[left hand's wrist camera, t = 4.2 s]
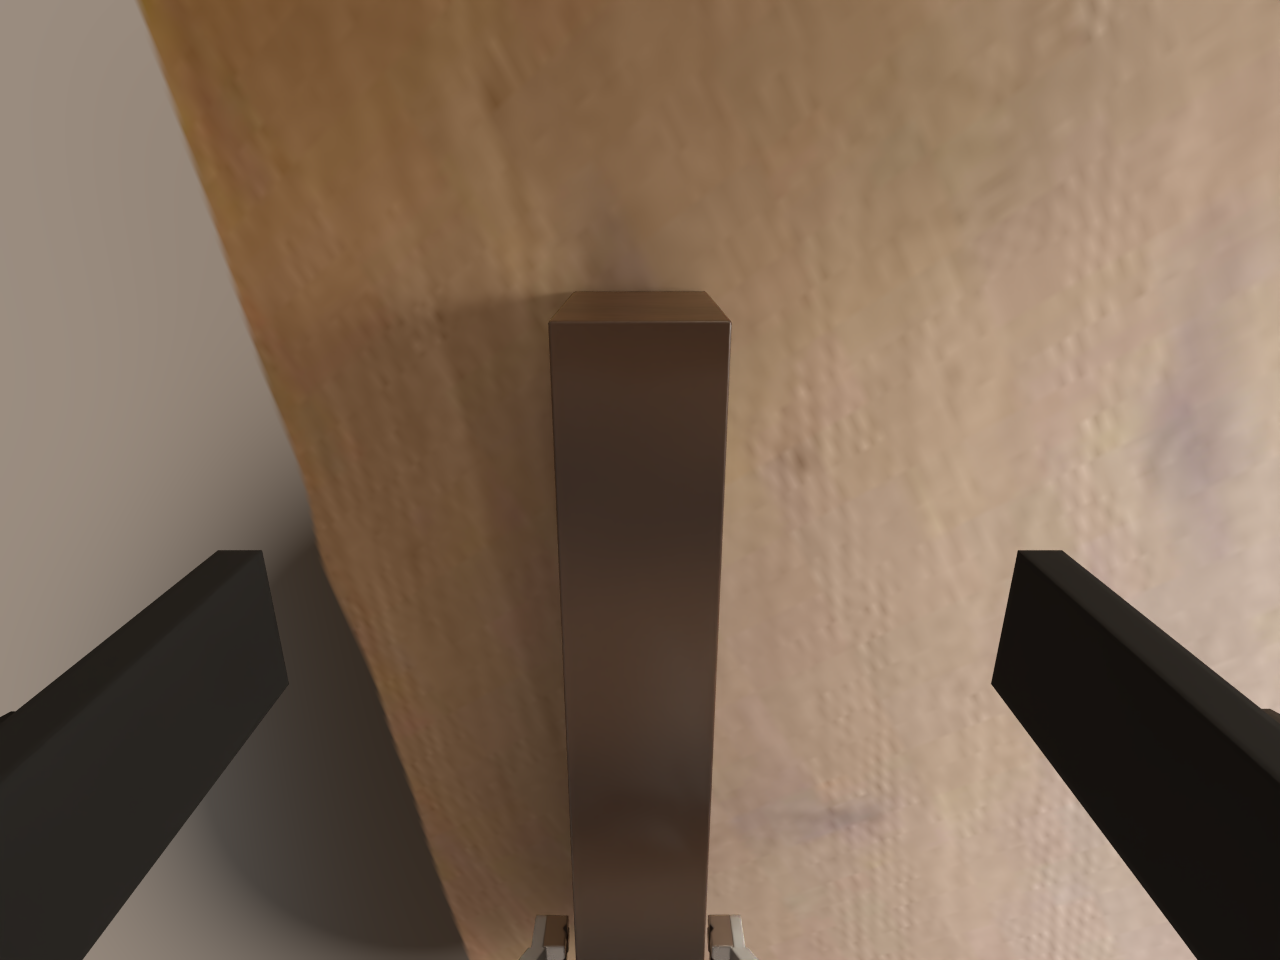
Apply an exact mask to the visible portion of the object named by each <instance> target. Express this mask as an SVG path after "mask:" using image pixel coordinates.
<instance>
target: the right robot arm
mask: <svg viewBox="0 0 1280 960" xmlns="http://www.w3.org/2000/svg"><path fill="white" fill-rule="evenodd" d="M568 924H569V917H568V916H562V915H537V916H536V919H535V926H534V932H533V939H532V946H531V948H528V949H527V950H526V951H525V953H524V954H523V955H522V956H521V957H520V959H519V960H567V952H568V950H569V927H568ZM707 934H708V951H709V952H710V956H709V960H758V959H757V958H756V956H755V955H754V954H753V953H752V951H751V950H750V949H749V948H748V947H745V942H744V935H743V928H742V921H741V916H740V915H708V933H707Z"/></svg>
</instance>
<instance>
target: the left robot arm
mask: <svg viewBox="0 0 1280 960" xmlns="http://www.w3.org/2000/svg"><path fill="white" fill-rule="evenodd" d="M288 684H289V682H288V677H287V672H286V667H285V662H284V658H283V652H282V647H281V642H280V638H279V633H278V628H277V622H276V617H275V612H274V608H273V603H272V598H271V593H270V588H269V583H268V578H267V573H266V568H265V563H264V558H263V553H262V551H261V550H218V551H217V552H215V553H214V554H213V555H212V556H210V557H209V558H208V559H207V560H205V561H204V562H203V563H202V564H200V565H199V566H198V567H197V568H195V569H194V570H193V571H191V572H190V573H189V574H188V575H187V576H185V577H184V578H183V579H181V580H180V581H179V582H178V583H176V584H175V585H174V586H173V587H171V588H170V589H169V590H168V591H166V592H165V593H164V594H163V595H161V596H160V597H159V598H158V599H156V600H155V601H154V602H153V603H151V604H150V605H149V606H147V607H146V608H145V609H144V610H142V611H141V612H140V613H139V614H137V615H136V616H135V617H134V618H132V619H131V620H130V621H129V622H127V623H126V624H125V625H124V626H122V627H121V628H120V629H119V630H117V631H116V632H115V633H114V634H112V635H111V636H110V637H109V638H107V639H106V640H105V641H104V642H102V643H101V644H100V645H99V646H97V647H96V648H95V649H93V650H92V651H91V652H90V653H88V654H87V655H86V656H85V657H83V658H82V659H81V660H80V661H78V662H77V663H76V664H75V665H73V666H72V667H71V668H70V669H68V670H67V671H66V672H65V673H63V674H62V675H61V676H60V677H58V678H57V679H56V680H55V681H53V682H52V683H51V684H50V685H48V686H47V687H46V688H45V689H43V690H42V691H41V692H39V693H38V694H37V695H36V696H34V697H33V698H32V699H31V700H29V701H28V702H27V703H26V704H24V705H23V706H22V707H21V708H19V709H18V710H17V711H15V712H14V711H13V712H12V711H11V712H9V713H7V714H5V715H3V716H2V717H0V960H83V958H84V957H85V956H86V954H87V953H88V952H89V950H90V949H91V948H92V946H93V945H94V944H95V942H96V941H97V940H98V938H99V937H100V936H101V934H102V933H103V932H104V930H105V929H106V928H107V926H108V925H109V924H110V922H111V921H112V920H113V918H114V917H115V915H116V914H117V913H118V912H119V910H120V909H121V907H122V906H123V905H124V904H125V902H126V901H127V900H128V898H129V897H130V895H131V894H132V893H133V891H134V890H135V889H136V887H137V886H138V885H139V883H140V882H141V881H142V879H143V878H144V877H145V875H146V874H147V873H148V871H149V870H150V869H151V867H152V866H153V865H154V863H155V862H156V861H157V859H158V858H159V857H160V855H161V854H162V853H163V851H164V850H165V849H166V847H167V846H168V845H169V843H170V842H171V841H172V839H173V838H174V837H175V835H176V834H177V833H178V831H179V830H180V829H181V827H182V826H183V824H184V823H185V822H186V821H187V819H188V818H189V817H190V815H191V814H192V813H193V811H194V810H195V809H196V807H197V806H198V805H199V803H200V802H201V801H202V799H203V798H204V797H205V795H206V794H207V793H208V791H209V790H210V789H211V787H212V786H213V785H214V783H215V782H216V781H217V779H218V778H219V777H220V775H221V774H222V773H223V771H224V770H225V769H226V767H227V766H228V764H229V763H230V762H231V760H232V759H233V758H234V756H235V755H236V754H237V752H238V751H239V750H240V748H241V747H242V746H243V744H244V743H245V742H246V740H247V739H248V738H249V736H250V735H251V734H252V732H253V731H254V730H255V728H256V727H257V726H258V724H259V723H260V722H261V720H262V719H263V718H264V716H265V715H266V714H267V712H268V711H269V710H270V708H271V707H272V706H273V704H274V703H275V702H276V700H277V699H278V698H279V696H280V695H281V694H282V692H283V691H284V690H285V688H286V687H287V686H288ZM991 684H992V686H993V687H994V688H995V690H996V691H997V692H998V694H999V695H1000V696H1001V698H1002V699H1003V700H1004V702H1005V703H1006V704H1007V706H1008V707H1009V708H1010V710H1011V711H1012V712H1013V714H1014V715H1015V716H1016V718H1017V719H1018V720H1019V722H1020V723H1021V724H1022V726H1023V727H1024V728H1025V730H1026V731H1027V732H1028V734H1029V735H1030V736H1031V738H1032V739H1033V740H1034V742H1035V743H1036V744H1037V746H1038V747H1039V748H1040V750H1041V751H1042V752H1043V754H1044V755H1045V756H1046V758H1047V759H1048V760H1049V762H1050V763H1051V765H1052V766H1053V767H1054V769H1055V770H1056V771H1057V773H1058V774H1059V775H1060V777H1061V778H1062V779H1063V781H1064V782H1065V783H1066V785H1067V786H1068V787H1069V789H1070V790H1071V791H1072V793H1073V794H1074V795H1075V797H1076V798H1077V799H1078V801H1079V802H1080V803H1081V805H1082V806H1083V807H1084V809H1085V810H1086V811H1087V813H1088V814H1089V815H1090V817H1091V818H1092V819H1093V821H1094V822H1095V823H1096V825H1097V826H1098V827H1099V829H1100V830H1101V831H1102V833H1103V834H1104V835H1105V837H1106V838H1107V839H1108V841H1109V842H1110V843H1111V845H1112V846H1113V847H1114V849H1115V850H1116V851H1117V853H1118V854H1119V855H1120V857H1121V858H1122V859H1123V861H1124V862H1125V863H1126V865H1127V866H1128V867H1129V869H1130V870H1131V871H1132V873H1133V874H1134V875H1135V877H1136V878H1137V879H1138V881H1139V882H1140V883H1141V885H1142V886H1143V887H1144V889H1145V890H1146V891H1147V893H1148V894H1149V895H1150V897H1151V898H1152V900H1153V901H1154V902H1155V904H1156V905H1157V906H1158V908H1159V909H1160V910H1161V912H1162V913H1163V914H1164V916H1165V917H1166V918H1167V920H1168V921H1169V922H1170V924H1171V925H1172V926H1173V928H1174V929H1175V930H1176V932H1177V933H1178V934H1179V936H1180V937H1181V938H1182V940H1183V941H1184V942H1185V944H1186V945H1187V946H1188V948H1189V949H1190V950H1191V952H1192V953H1193V954H1194V956H1195V957H1196V958H1197V960H1280V714H1279V713H1277V712H1275V711H1273V710H1271V709H1261V708H1259V707H1258V706H1257V705H1256V704H1254V703H1253V702H1252V701H1251V700H1249V699H1248V698H1247V697H1246V696H1244V695H1243V694H1242V693H1241V692H1239V691H1238V690H1237V689H1236V688H1234V687H1233V686H1232V685H1230V684H1229V683H1228V682H1227V681H1225V680H1224V679H1223V678H1222V677H1220V676H1219V675H1218V674H1217V673H1215V672H1214V671H1213V670H1212V669H1210V668H1209V667H1208V666H1207V665H1205V664H1204V663H1203V662H1202V661H1200V660H1199V659H1198V658H1197V657H1195V656H1194V655H1193V654H1192V653H1190V652H1189V651H1188V650H1187V649H1185V648H1184V647H1183V646H1181V645H1180V644H1179V643H1178V642H1176V641H1175V640H1174V639H1173V638H1171V637H1170V636H1169V635H1168V634H1166V633H1165V632H1164V631H1163V630H1161V629H1160V628H1159V627H1158V626H1156V625H1155V624H1154V623H1153V622H1151V621H1150V620H1149V619H1148V618H1146V617H1145V616H1144V615H1143V614H1141V613H1140V612H1139V611H1138V610H1136V609H1135V608H1134V607H1132V606H1131V605H1130V604H1129V603H1127V602H1126V601H1125V600H1124V599H1122V598H1121V597H1120V596H1119V595H1117V594H1116V593H1115V592H1114V591H1112V590H1111V589H1110V588H1109V587H1107V586H1106V585H1105V584H1104V583H1102V582H1101V581H1100V580H1099V579H1097V578H1096V577H1095V576H1094V575H1092V574H1091V573H1090V572H1089V571H1087V570H1086V569H1085V568H1084V567H1082V566H1081V565H1080V564H1078V563H1077V562H1076V561H1075V560H1073V559H1072V558H1071V557H1070V556H1068V555H1067V554H1066V553H1065V552H1063V551H1062V550H1018V553H1017V558H1016V563H1015V568H1014V573H1013V578H1012V583H1011V588H1010V593H1009V598H1008V602H1007V607H1006V612H1005V617H1004V622H1003V627H1002V632H1001V637H1000V642H999V647H998V652H997V657H996V662H995V667H994V672H993V677H992V682H991Z"/></svg>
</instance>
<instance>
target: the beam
mask: <svg viewBox="0 0 1280 960" xmlns="http://www.w3.org/2000/svg"><path fill="white" fill-rule="evenodd" d="M548 327H549V350H550V373H551V396H552V419H553V442H554V465H555V488H556V511H557V534H558V557H559V580H560V603H561V626H562V649H563V672H564V695H565V718H566V741H567V764H568V787H569V810H570V833H571V856H572V879H573V902H574V925H575V948H576V960H704V948H705V925H706V902H707V879H708V856H709V833H710V810H711V787H712V764H713V741H714V718H715V695H716V672H717V649H718V626H719V603H720V580H721V557H722V534H723V511H724V488H725V465H726V442H727V419H728V396H729V373H730V350H731V327H732V323H731V321H730V320H729V319H728V317H727V316H726V315H725V314H724V313H723V311H722V310H721V309H720V308H719V307H718V306H717V304H716V303H715V302H714V301H713V300H712V299H711V297H710V296H709V295H708V294H707V293H706V292H574V293H573V294H572V295H571V296H570V297H569V299H568V300H567V301H566V302H565V303H564V304H563V306H562V307H561V308H560V309H559V310H558V311H557V313H556V314H555V315H554V316H553V317H552V319H551V320H550V321H549V323H548Z"/></svg>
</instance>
